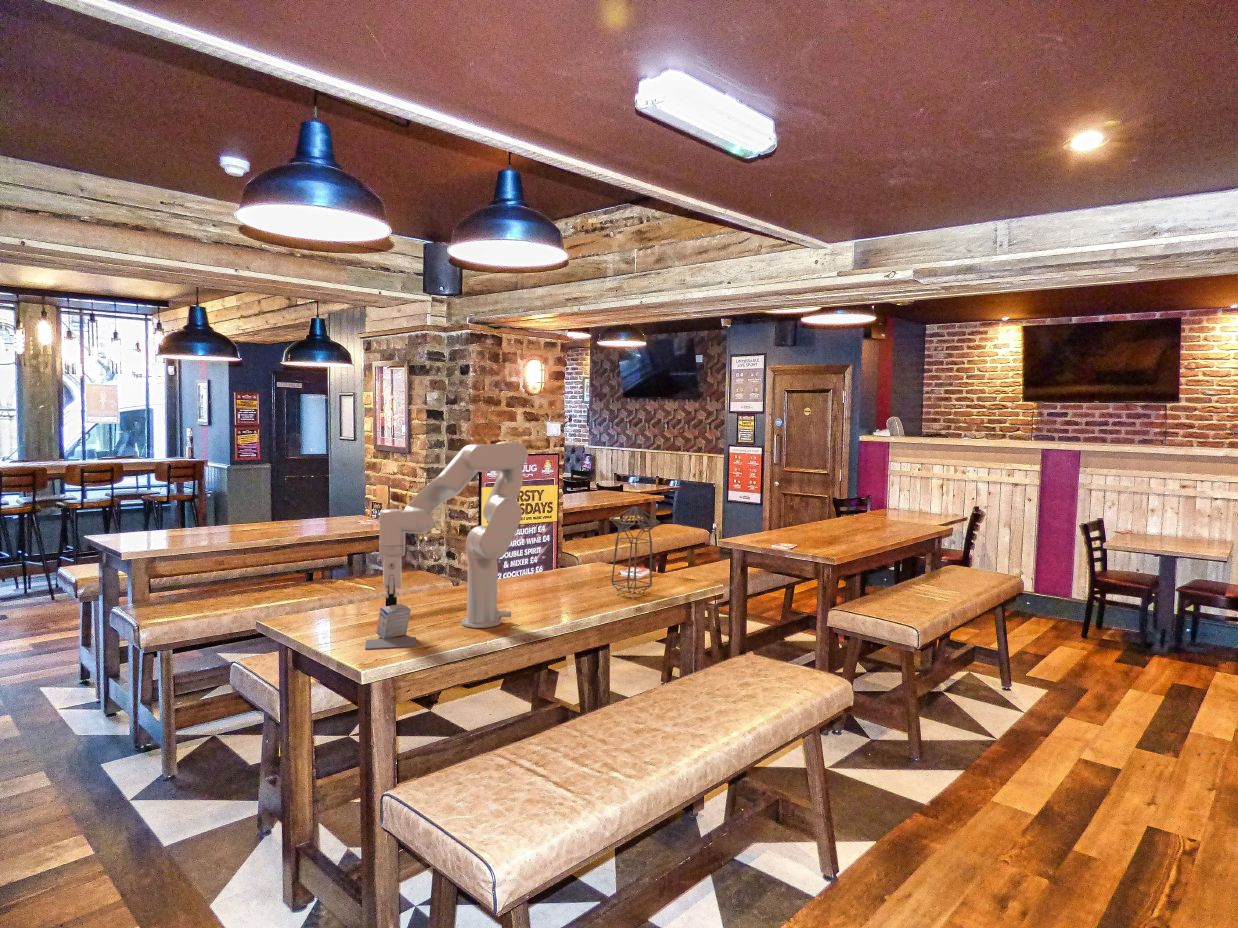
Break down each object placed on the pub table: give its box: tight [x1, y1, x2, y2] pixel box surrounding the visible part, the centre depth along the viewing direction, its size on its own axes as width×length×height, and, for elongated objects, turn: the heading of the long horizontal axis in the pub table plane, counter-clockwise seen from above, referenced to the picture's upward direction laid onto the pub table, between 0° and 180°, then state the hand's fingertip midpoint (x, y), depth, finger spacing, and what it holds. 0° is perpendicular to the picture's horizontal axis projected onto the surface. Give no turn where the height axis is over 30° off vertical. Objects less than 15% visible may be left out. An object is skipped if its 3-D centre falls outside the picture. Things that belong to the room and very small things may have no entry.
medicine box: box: [375, 603, 411, 639], centre depth 216 cm, size 8×4×9 cm, turn 141°
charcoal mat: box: [364, 636, 418, 651], centre depth 209 cm, size 14×9×1 cm, turn 108°
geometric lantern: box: [608, 506, 661, 594], centre depth 281 cm, size 16×16×35 cm
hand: (391, 610), depth 219 cm, fingers closed
